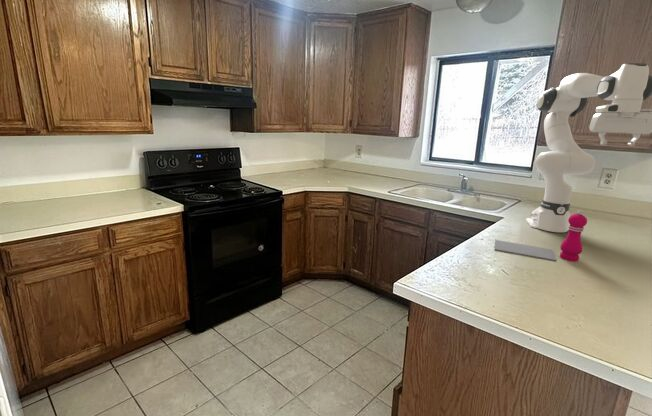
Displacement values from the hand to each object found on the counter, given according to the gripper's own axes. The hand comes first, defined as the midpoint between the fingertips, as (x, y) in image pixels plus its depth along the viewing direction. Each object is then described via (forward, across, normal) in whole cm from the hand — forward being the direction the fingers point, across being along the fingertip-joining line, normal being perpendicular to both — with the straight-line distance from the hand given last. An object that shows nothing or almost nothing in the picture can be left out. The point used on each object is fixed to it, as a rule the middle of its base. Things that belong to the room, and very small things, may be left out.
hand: (616, 145), depth 135 cm
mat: (+45, +28, +4) cm, 53 cm away
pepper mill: (+45, +12, +8) cm, 48 cm away
